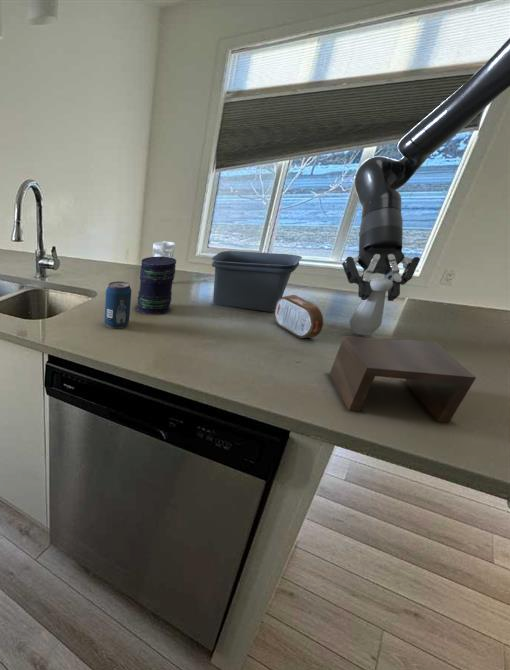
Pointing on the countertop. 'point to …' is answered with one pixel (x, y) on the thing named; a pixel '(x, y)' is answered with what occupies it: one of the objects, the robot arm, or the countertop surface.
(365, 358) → the shelf
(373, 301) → the salt shaker
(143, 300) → the storage jar
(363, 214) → the robot arm
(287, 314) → the tin
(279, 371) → the countertop surface
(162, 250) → the strainer
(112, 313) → the soda can
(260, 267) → the storage bin
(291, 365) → the countertop surface
